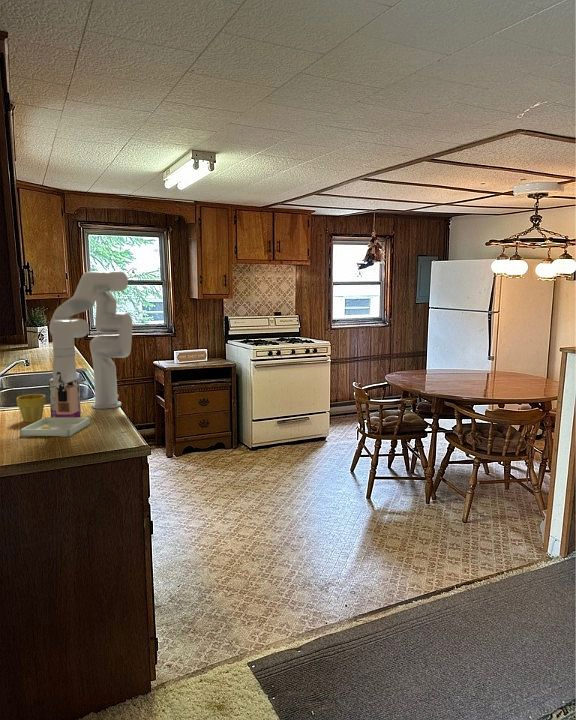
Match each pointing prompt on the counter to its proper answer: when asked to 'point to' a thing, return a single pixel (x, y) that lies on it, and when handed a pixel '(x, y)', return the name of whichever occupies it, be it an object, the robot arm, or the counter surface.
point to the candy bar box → (53, 402)
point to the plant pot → (31, 407)
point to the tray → (56, 427)
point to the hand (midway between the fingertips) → (67, 399)
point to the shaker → (68, 401)
